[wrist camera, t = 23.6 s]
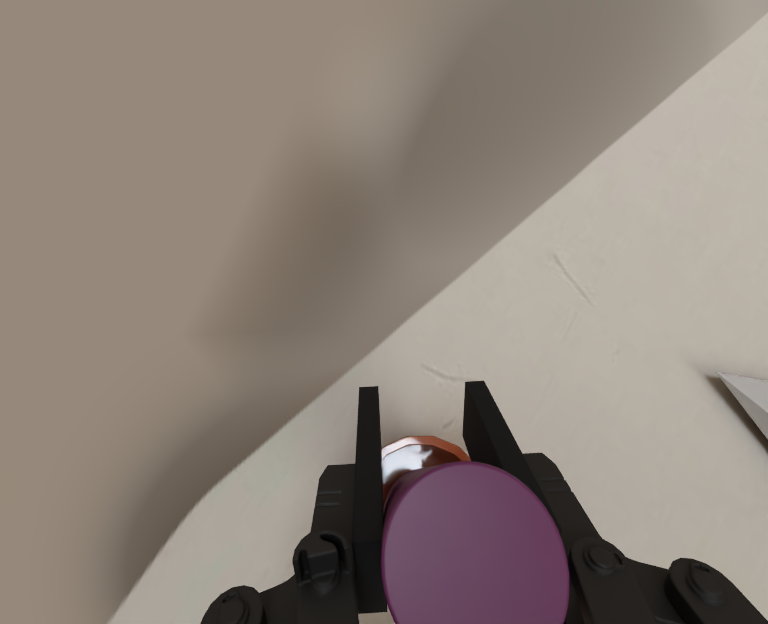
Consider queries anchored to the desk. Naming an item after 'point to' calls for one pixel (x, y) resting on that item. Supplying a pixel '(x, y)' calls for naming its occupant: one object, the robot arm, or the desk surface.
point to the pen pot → (416, 457)
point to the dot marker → (471, 549)
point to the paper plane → (750, 397)
